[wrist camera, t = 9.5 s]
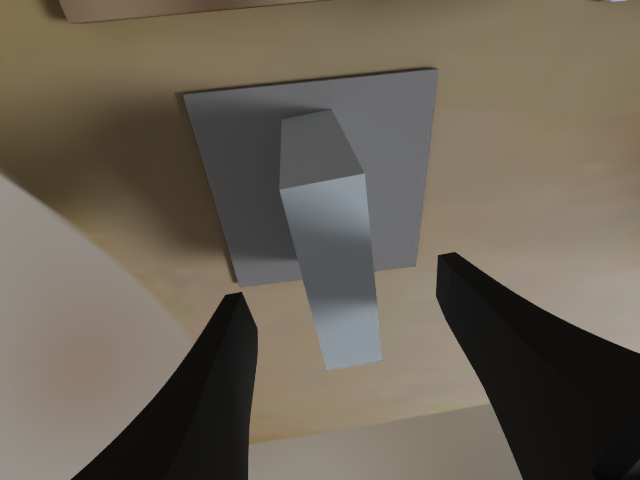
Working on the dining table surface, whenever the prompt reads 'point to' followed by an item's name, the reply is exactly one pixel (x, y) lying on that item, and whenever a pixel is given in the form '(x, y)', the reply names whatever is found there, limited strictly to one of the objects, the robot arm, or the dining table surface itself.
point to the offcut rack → (154, 8)
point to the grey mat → (265, 149)
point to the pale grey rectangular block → (331, 236)
